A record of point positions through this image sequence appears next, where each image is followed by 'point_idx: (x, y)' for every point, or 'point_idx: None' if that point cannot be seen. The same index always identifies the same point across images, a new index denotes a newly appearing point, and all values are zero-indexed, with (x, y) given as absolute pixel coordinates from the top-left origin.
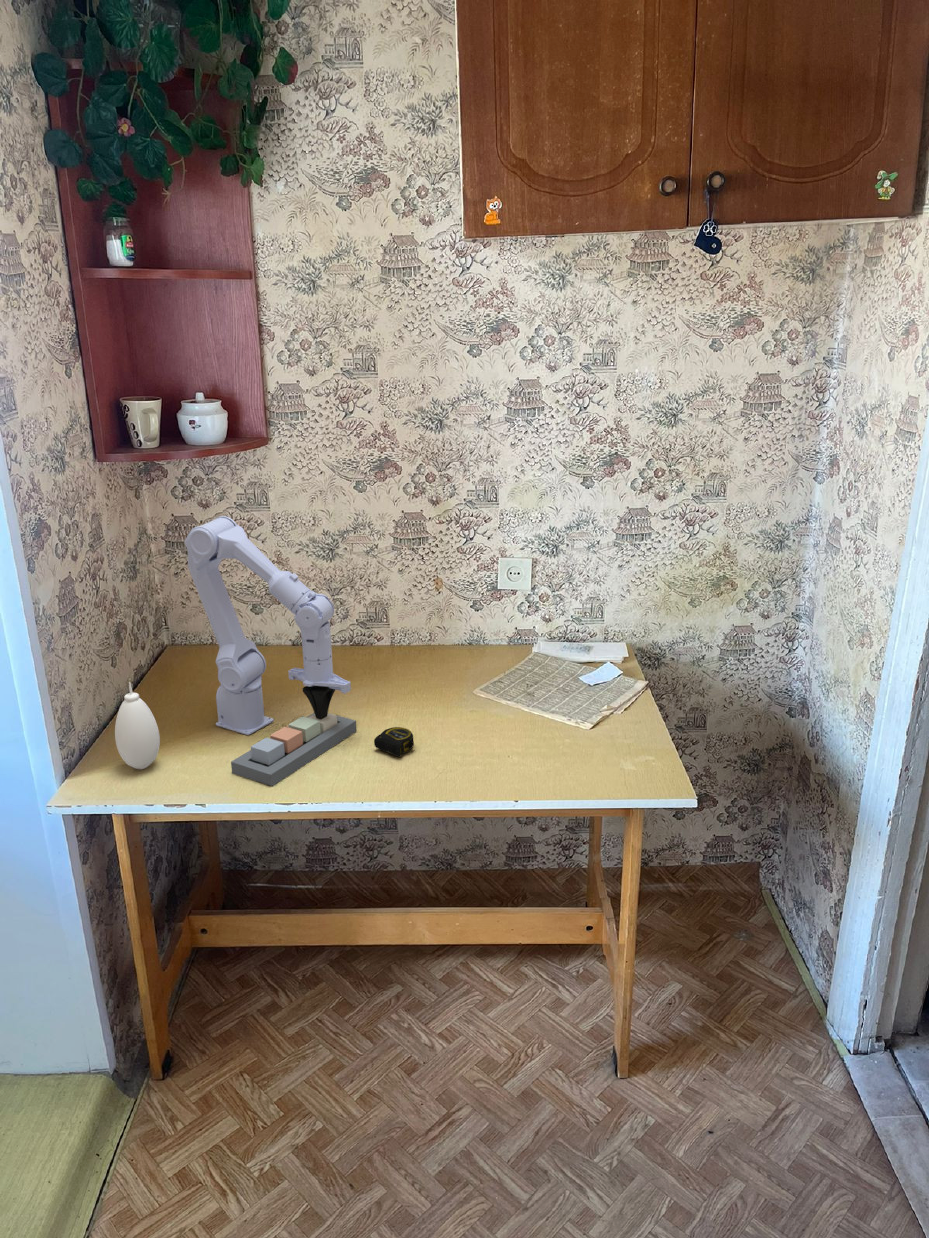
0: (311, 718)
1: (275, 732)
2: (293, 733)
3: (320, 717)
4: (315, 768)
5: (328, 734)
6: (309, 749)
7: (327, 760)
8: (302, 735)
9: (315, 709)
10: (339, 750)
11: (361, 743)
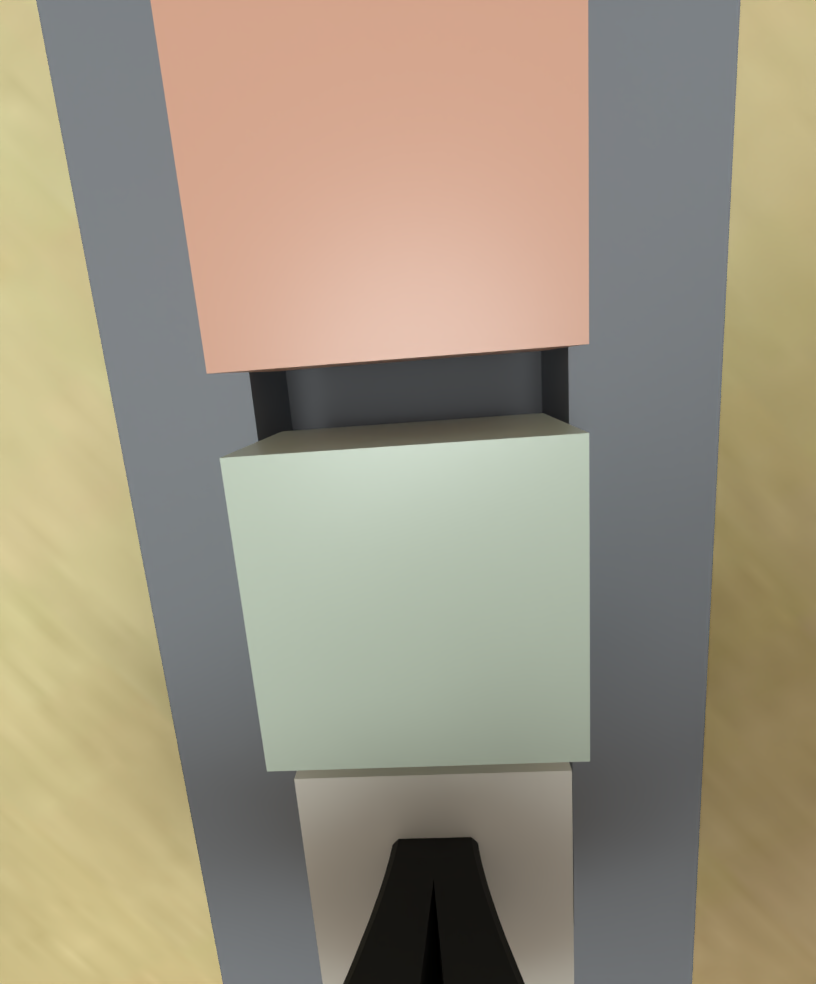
0: (519, 806)
1: (575, 44)
2: (266, 227)
3: (392, 861)
4: (30, 240)
5: (218, 685)
6: (108, 310)
7: (68, 420)
8: (316, 435)
9: (449, 961)
10: (129, 608)
11: (87, 778)
